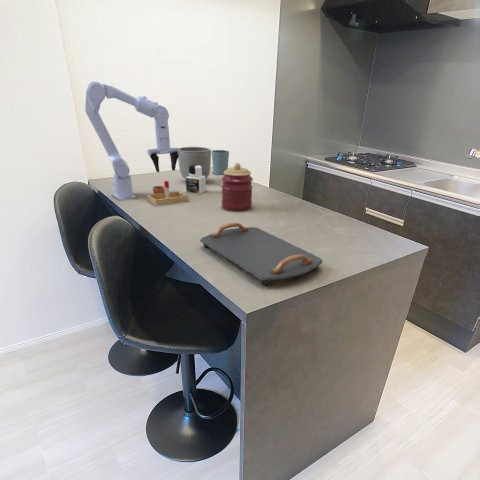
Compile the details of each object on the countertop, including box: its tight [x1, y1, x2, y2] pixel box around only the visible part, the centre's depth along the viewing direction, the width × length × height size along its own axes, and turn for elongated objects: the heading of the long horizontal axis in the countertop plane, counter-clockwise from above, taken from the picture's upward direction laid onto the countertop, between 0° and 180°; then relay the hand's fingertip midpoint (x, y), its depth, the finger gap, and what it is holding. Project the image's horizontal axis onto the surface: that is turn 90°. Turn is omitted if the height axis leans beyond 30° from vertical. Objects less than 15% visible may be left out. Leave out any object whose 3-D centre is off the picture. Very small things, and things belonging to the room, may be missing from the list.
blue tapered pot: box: [211, 149, 230, 176], centre depth 206 cm, size 10×10×12 cm
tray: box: [147, 190, 189, 206], centre depth 157 cm, size 10×15×2 cm, turn 122°
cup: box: [152, 185, 165, 194], centre depth 162 cm, size 5×5×4 cm
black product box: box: [185, 165, 207, 194], centre depth 169 cm, size 7×7×12 cm
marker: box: [163, 180, 170, 199], centre depth 155 cm, size 2×2×8 cm
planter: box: [177, 146, 212, 180], centre depth 185 cm, size 17×17×16 cm
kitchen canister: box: [221, 162, 254, 212], centre depth 147 cm, size 13×13×18 cm
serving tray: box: [199, 222, 323, 287], centre depth 107 cm, size 39×23×6 cm, turn 35°
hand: (165, 171), depth 161 cm, fingers open, 7 cm apart
